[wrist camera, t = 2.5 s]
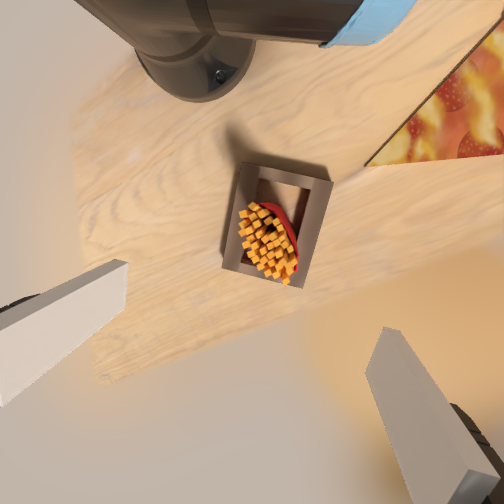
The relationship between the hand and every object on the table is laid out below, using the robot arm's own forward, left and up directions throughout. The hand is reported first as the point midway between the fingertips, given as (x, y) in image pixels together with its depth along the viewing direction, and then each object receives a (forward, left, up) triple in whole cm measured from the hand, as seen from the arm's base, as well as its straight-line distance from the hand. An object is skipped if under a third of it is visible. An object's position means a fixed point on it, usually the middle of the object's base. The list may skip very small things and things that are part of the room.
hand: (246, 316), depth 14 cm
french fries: (0, 0, -27) cm, 27 cm away
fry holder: (0, 0, -27) cm, 27 cm away
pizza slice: (+18, +21, -27) cm, 39 cm away
